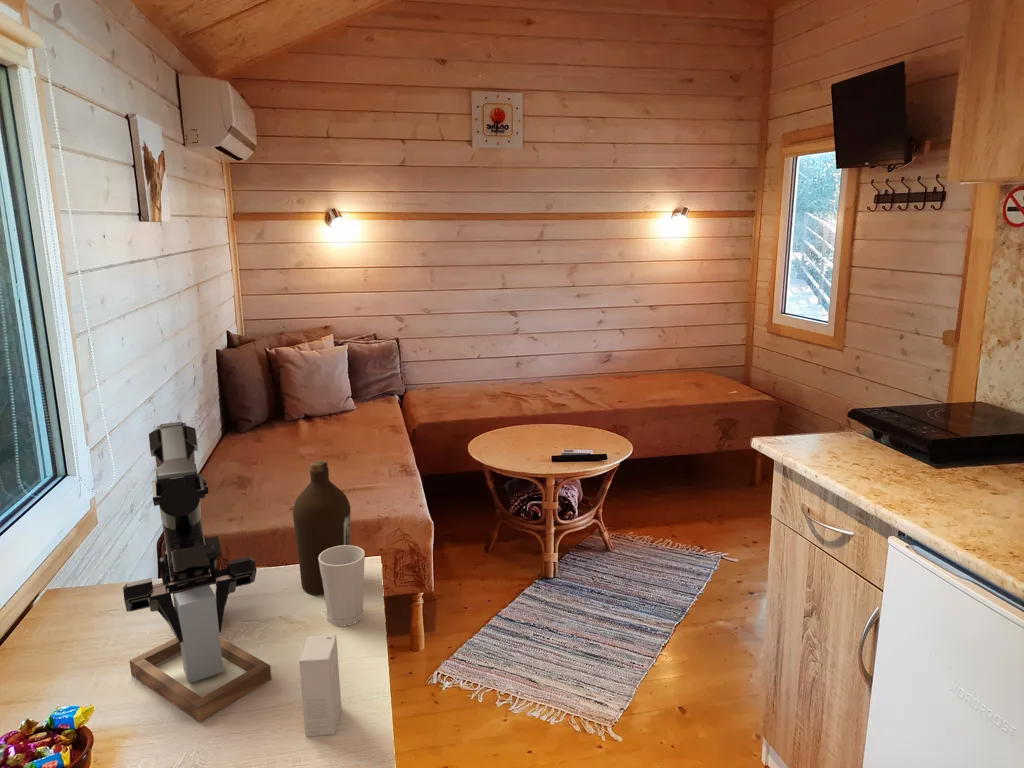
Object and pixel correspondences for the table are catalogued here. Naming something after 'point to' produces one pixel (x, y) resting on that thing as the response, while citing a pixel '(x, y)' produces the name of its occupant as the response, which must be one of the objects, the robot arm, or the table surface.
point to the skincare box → (320, 685)
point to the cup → (343, 583)
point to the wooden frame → (205, 694)
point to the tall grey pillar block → (199, 633)
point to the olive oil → (319, 524)
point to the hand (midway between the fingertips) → (200, 637)
